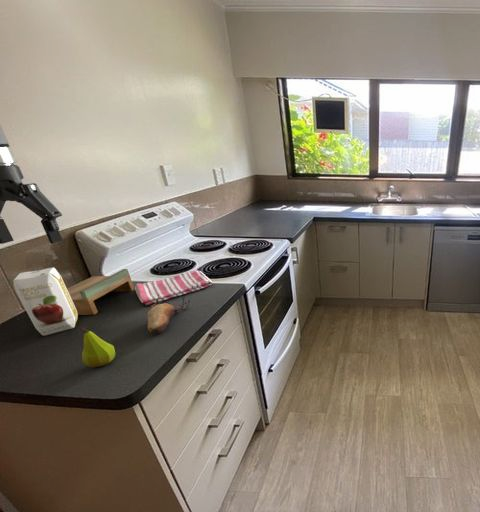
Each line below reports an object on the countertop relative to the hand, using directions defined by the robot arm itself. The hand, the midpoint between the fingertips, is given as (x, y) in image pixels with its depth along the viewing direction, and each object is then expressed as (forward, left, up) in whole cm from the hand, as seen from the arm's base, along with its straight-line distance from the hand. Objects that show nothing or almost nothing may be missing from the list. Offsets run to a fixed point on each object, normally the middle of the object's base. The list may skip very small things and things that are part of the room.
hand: (32, 242), depth 82 cm
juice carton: (-1, -2, -28) cm, 28 cm away
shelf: (-4, +14, -28) cm, 31 cm away
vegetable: (+32, -1, -28) cm, 43 cm away
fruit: (+26, -19, -28) cm, 43 cm away
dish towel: (+19, +23, -28) cm, 41 cm away
